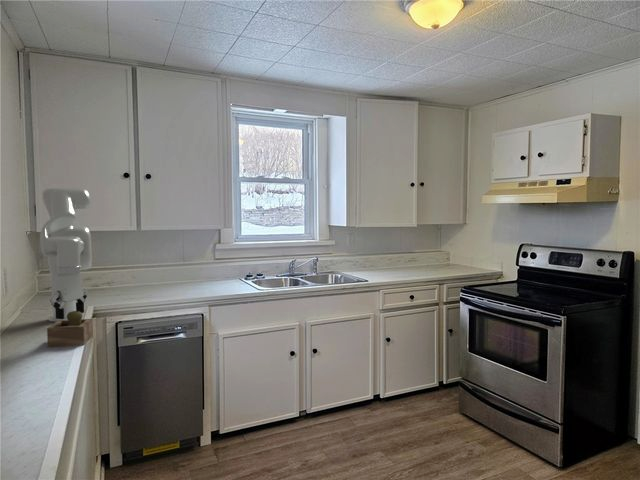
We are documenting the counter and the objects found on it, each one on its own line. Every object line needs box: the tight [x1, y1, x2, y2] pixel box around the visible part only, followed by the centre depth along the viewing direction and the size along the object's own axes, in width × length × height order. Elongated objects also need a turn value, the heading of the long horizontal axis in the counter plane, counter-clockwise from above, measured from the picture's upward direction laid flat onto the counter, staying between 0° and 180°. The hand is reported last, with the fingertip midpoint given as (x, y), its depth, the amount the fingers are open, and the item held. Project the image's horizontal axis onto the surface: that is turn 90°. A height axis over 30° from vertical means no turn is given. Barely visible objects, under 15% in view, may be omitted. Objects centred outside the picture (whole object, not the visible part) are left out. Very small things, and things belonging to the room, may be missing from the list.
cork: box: [67, 311, 83, 326], centre depth 167 cm, size 6×6×11 cm
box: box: [46, 318, 94, 348], centre depth 165 cm, size 12×12×7 cm
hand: (70, 315), depth 165 cm, fingers open, 9 cm apart
